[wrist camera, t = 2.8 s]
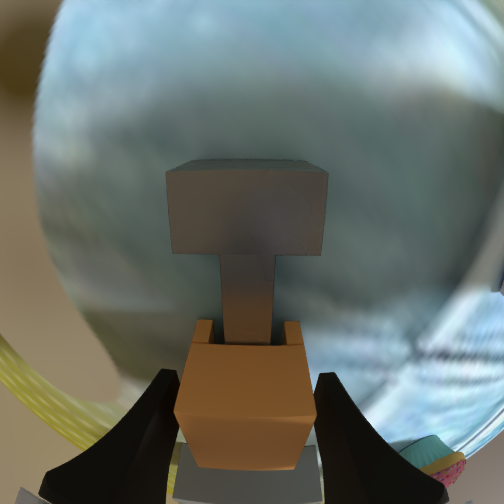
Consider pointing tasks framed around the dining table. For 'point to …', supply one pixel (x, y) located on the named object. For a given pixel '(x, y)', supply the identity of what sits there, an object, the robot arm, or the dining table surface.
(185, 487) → the button box
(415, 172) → the dining table surface
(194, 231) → the rail
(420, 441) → the cupcake
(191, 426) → the carriage
